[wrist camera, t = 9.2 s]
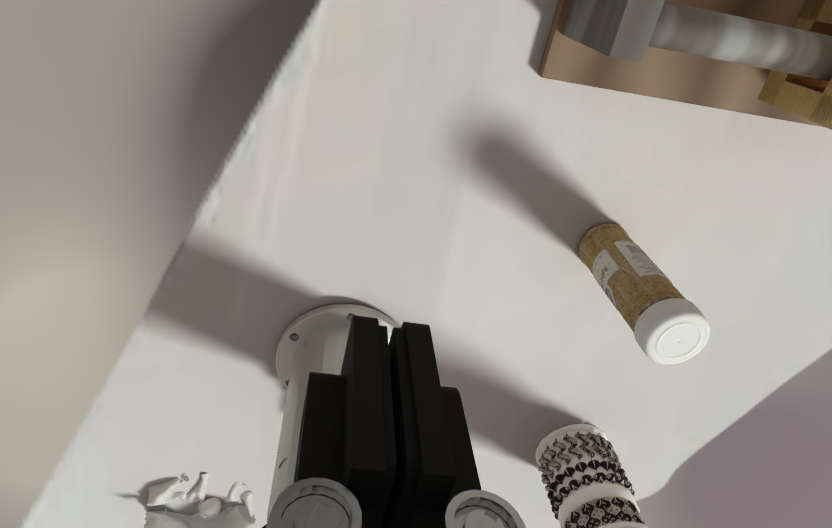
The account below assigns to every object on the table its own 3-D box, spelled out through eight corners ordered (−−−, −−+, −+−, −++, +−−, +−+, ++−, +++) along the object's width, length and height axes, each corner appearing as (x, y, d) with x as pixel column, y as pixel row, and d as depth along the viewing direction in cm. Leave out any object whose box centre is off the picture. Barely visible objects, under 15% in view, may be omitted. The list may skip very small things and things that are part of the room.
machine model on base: (919, -8, 39) (1063, 5, 31) (840, 127, 44) (947, 170, 36) (583, -86, 35) (649, -93, 27) (538, 74, 40) (582, 108, 32)
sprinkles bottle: (567, 244, 47) (632, 342, 36) (610, 211, 46) (693, 301, 35) (595, 275, 49) (666, 377, 38) (637, 244, 48) (724, 340, 36)
